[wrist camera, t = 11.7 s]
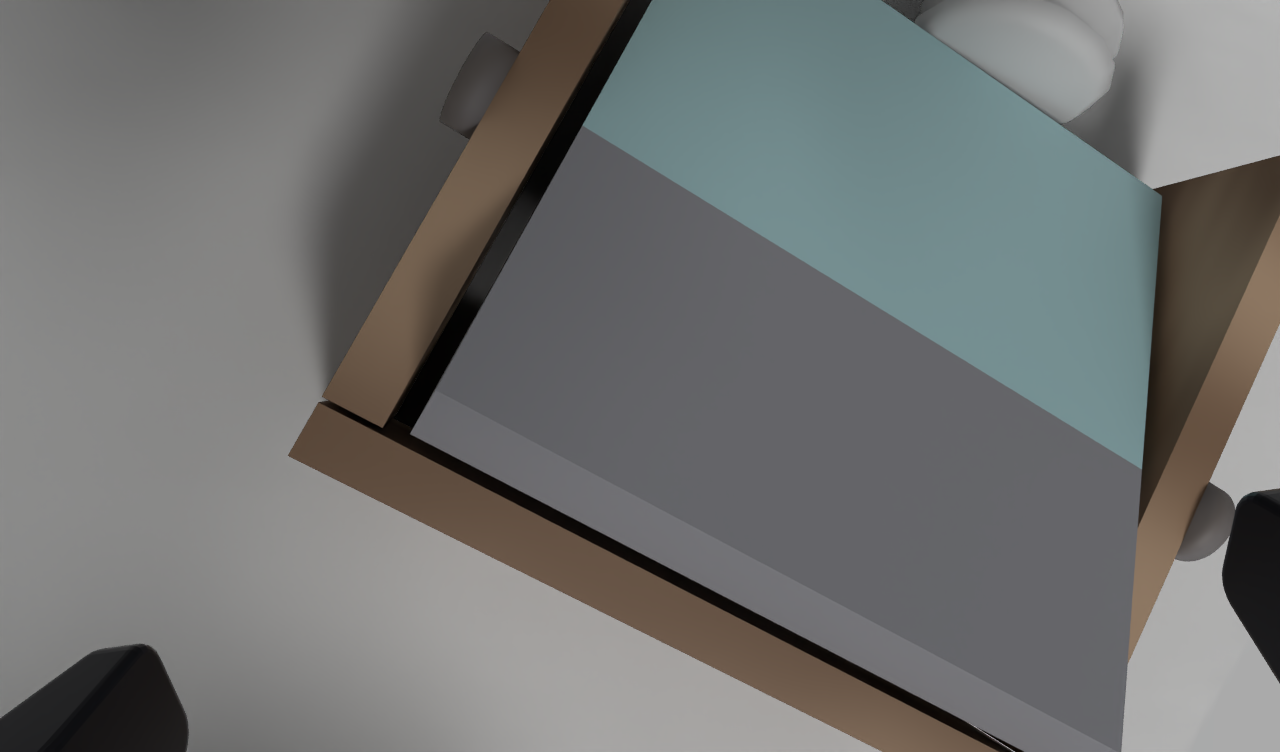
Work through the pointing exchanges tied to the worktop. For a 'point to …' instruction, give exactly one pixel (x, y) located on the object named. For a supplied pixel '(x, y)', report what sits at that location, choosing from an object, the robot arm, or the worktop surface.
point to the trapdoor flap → (839, 355)
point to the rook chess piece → (1035, 46)
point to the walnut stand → (668, 601)
